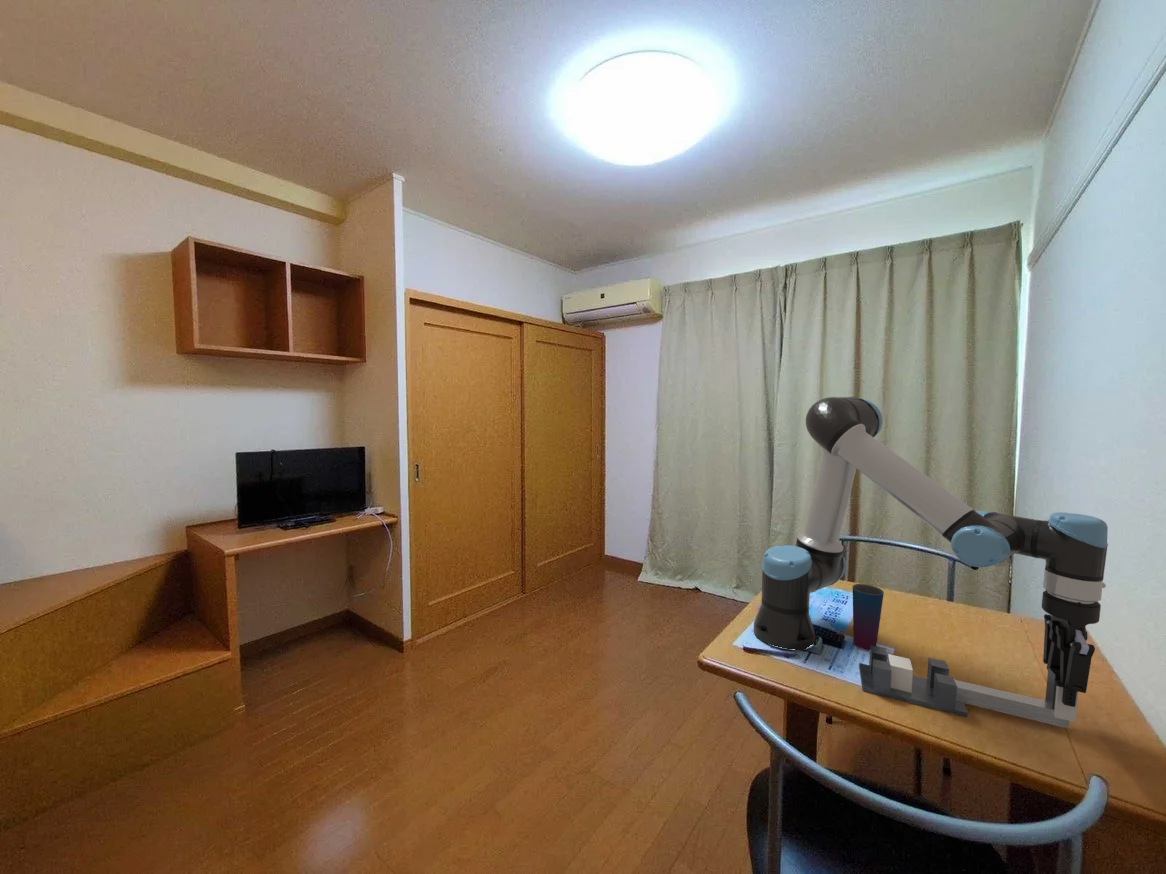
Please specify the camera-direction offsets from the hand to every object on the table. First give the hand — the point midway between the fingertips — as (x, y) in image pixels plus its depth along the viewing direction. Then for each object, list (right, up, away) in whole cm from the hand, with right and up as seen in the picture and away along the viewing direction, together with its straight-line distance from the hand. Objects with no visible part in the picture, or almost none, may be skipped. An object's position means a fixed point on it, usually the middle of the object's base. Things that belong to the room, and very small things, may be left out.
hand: (1059, 712), depth 88 cm
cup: (-19, -1, +30) cm, 35 cm away
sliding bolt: (-8, -2, +4) cm, 9 cm away
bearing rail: (-21, -2, +11) cm, 24 cm away
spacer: (-23, +2, +12) cm, 26 cm away
